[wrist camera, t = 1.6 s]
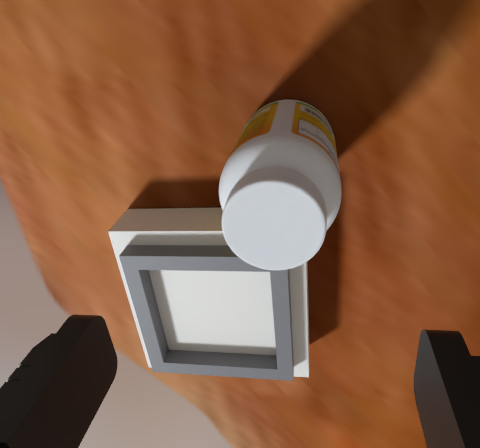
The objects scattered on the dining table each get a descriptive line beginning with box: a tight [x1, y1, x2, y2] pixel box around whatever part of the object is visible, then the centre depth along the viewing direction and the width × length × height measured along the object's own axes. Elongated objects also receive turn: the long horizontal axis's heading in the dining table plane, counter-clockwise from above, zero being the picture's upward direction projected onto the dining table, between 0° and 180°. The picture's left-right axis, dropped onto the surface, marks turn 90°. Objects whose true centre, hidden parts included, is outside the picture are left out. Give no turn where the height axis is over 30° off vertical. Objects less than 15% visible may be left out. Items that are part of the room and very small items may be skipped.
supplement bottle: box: [219, 99, 342, 270], centre depth 19 cm, size 5×5×10 cm
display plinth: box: [108, 208, 309, 381], centre depth 27 cm, size 12×12×4 cm
